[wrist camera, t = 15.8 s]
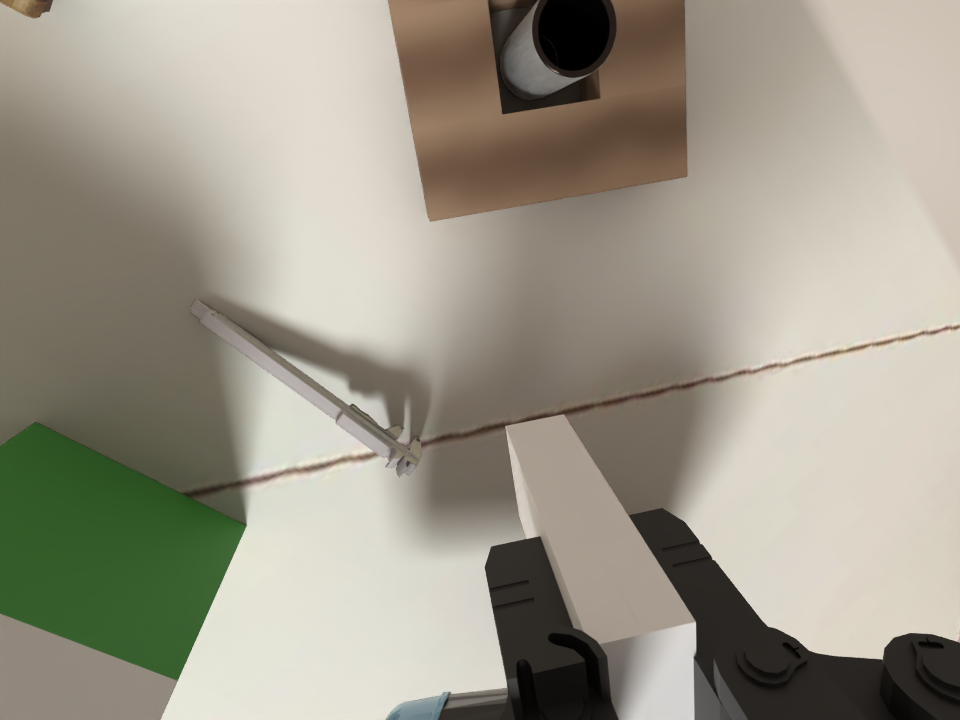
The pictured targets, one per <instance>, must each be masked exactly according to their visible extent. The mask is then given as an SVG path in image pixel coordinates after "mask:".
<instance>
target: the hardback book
mask: <svg viewBox="0 0 960 720" xmlns="http://www.w3.org/2000/svg"><path fill="white" fill-rule="evenodd" d="M245 528H246V525H244V524H242V523H240V522H238V521H236V520H234V519H232V518H230V517H228V516H226V515H224V514H222V513H220V512H218V511H216V510H214V509H212V508H210V507H208V506H206V505H204V504H202V503H200V502H197V501H195V500H193V499H191V498H189V497H187V496H185V495H183V494H181V493H179V492H177V491H175V490H173V489H171V488H169V487H167V486H165V485H163V484H161V483H159V482H157V481H155V480H153V479H151V478H149V477H147V476H145V475H142V474H140V473H138V472H136V471H134V470H132V469H130V468H128V467H126V466H124V465H122V464H120V463H118V462H116V461H114V460H112V459H110V458H108V457H106V456H104V455H102V454H100V453H98V452H96V451H94V450H92V449H90V448H87V447H85V446H83V445H81V444H79V443H77V442H75V441H73V440H71V439H69V438H67V437H65V436H63V435H61V434H59V433H57V432H55V431H53V430H51V429H49V428H47V427H45V426H43V425H41V424H39V423H37V422H35V423H33V424H32V425H31V426H29V427H28V428H26V429H25V430H23V431H22V432H20V433H19V434H18V435H16V436H15V437H13V438H12V439H10V440H9V441H7V442H6V443H5V444H3V445H2V446H0V720H160V719H161V717H162V715H163V713H164V710H165V708H166V706H167V704H168V701H169V699H170V697H171V695H172V692H173V690H174V688H175V686H176V683H177V681H178V679H179V677H180V674H181V672H182V670H183V668H184V665H185V663H186V661H187V659H188V656H189V654H190V652H191V650H192V647H193V645H194V643H195V641H196V638H197V636H198V634H199V632H200V629H201V627H202V625H203V623H204V620H205V618H206V616H207V614H208V611H209V609H210V607H211V605H212V602H213V600H214V598H215V596H216V593H217V591H218V589H219V587H220V584H221V582H222V580H223V578H224V575H225V573H226V571H227V569H228V566H229V564H230V562H231V560H232V557H233V555H234V553H235V551H236V548H237V546H238V544H239V542H240V539H241V537H242V535H243V533H244V530H245Z"/></svg>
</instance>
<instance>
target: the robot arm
mask: <svg viewBox="0 0 960 720" xmlns="http://www.w3.org/2000/svg"><path fill="white" fill-rule="evenodd" d="M505 427H506V434H507V440H508V447H509V453H510V460H511V466H512V472H513V479H514V485H515V492H516V498H517V505H518V511H519V517H520V520H521V523H522V526H523V529H524V532H525V536H526V539H524V540H520V541H515V542H510V543H506V544H501V545H496V546H492V547H491V549H490V552H489V556H488V559H487V562H486V565H485V571H486V577H487V582H488V587H489V592H490V598H491V603H492V608H493V614H494V619H495V624H496V629H497V634H498V640H499V645H500V650H501V655H502V660H503V665H504V670H505V675H506V681H507V688H502V689H494V690H485V691H477V692H468V693H459V694H451V692H444V693H443V694H442V695H441V696H436V697H430V698H425V699H419V700H414V701H408V702H404V703H402V704H400V705H398V706H397V707H395V708H394V709H393V710H392V711H391V712H390V714H389V715H388V716H387V718H386V720H960V643H959V642H956V641H953V640H949V639H946V638H943V637H939V636H936V635H933V634H917V633H909V634H906V635H902V636H899V637H895V638H893V639H892V640H891V642H890V643H889V644H888V645H887V646H886V647H885V649H884V655H883V660H881V659H867V658H853V657H839V656H830V655H824V654H817V653H814V652H811V651H809V650H808V649H806V648H805V647H804V646H803V645H802V644H801V643H800V642H799V641H798V640H796V639H795V638H793V637H791V636H789V635H787V634H785V633H784V632H782V631H780V630H778V629H775V628H771V627H768V626H767V625H766V624H765V623H764V622H763V621H762V620H761V619H760V618H759V616H758V615H757V614H756V612H755V611H754V610H753V609H752V607H751V606H750V605H749V604H748V602H747V601H746V600H745V598H744V597H743V596H742V595H741V593H740V592H739V591H738V590H737V588H736V587H735V586H734V584H733V583H732V582H731V581H730V579H729V578H728V577H727V575H726V574H725V573H724V572H723V570H722V569H721V568H720V567H719V565H718V564H717V563H716V561H715V560H712V557H711V555H710V554H709V553H708V551H707V550H706V549H705V547H704V546H703V545H702V544H701V545H700V542H699V540H698V538H697V537H696V536H695V535H694V533H693V532H692V531H691V530H690V528H689V527H688V526H687V524H686V523H685V522H684V521H682V520H681V519H679V518H677V517H676V516H674V515H673V514H671V513H669V512H668V511H666V510H664V509H663V508H661V509H656V510H651V511H647V512H642V513H637V514H633V515H628V514H627V513H626V511H625V510H624V508H623V506H622V505H621V503H620V502H619V500H618V499H617V497H616V495H615V494H614V492H613V491H612V489H611V488H610V486H609V484H608V483H607V481H606V480H605V478H604V477H603V475H602V473H601V472H600V470H599V469H598V467H597V466H596V464H595V462H594V461H593V459H592V458H591V456H590V455H589V453H588V451H587V450H586V448H585V447H584V445H583V444H582V442H581V440H580V439H579V437H578V436H577V434H576V433H575V431H574V429H573V428H572V426H571V425H570V423H569V422H568V420H567V418H566V417H565V415H564V414H563V415H558V416H553V417H548V418H543V419H538V420H533V421H528V422H523V423H518V424H513V425H508V426H505Z"/></svg>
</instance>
